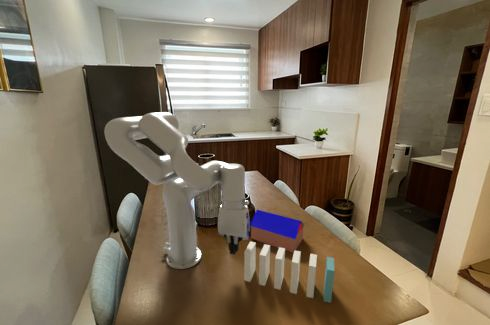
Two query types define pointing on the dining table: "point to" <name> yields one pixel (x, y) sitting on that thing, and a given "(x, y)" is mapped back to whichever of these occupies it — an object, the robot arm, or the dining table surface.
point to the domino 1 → (249, 261)
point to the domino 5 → (311, 275)
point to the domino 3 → (279, 268)
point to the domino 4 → (295, 272)
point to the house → (276, 230)
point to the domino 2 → (264, 264)
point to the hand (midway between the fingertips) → (233, 251)
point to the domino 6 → (329, 279)
